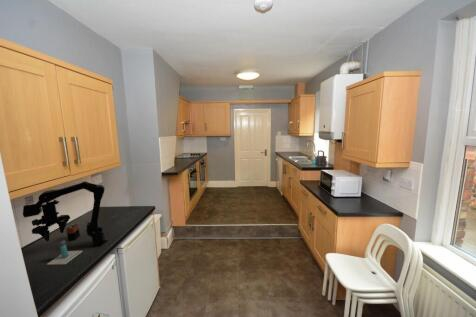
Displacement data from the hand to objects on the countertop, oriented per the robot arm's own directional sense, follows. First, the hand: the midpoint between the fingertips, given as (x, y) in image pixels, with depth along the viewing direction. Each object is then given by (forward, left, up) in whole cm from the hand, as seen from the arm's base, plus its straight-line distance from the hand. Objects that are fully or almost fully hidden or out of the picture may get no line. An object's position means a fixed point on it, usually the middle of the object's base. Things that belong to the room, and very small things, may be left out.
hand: (55, 236), depth 119 cm
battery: (-20, -8, -13) cm, 25 cm away
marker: (+2, +6, -12) cm, 14 cm away
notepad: (+2, +6, -13) cm, 14 cm away
